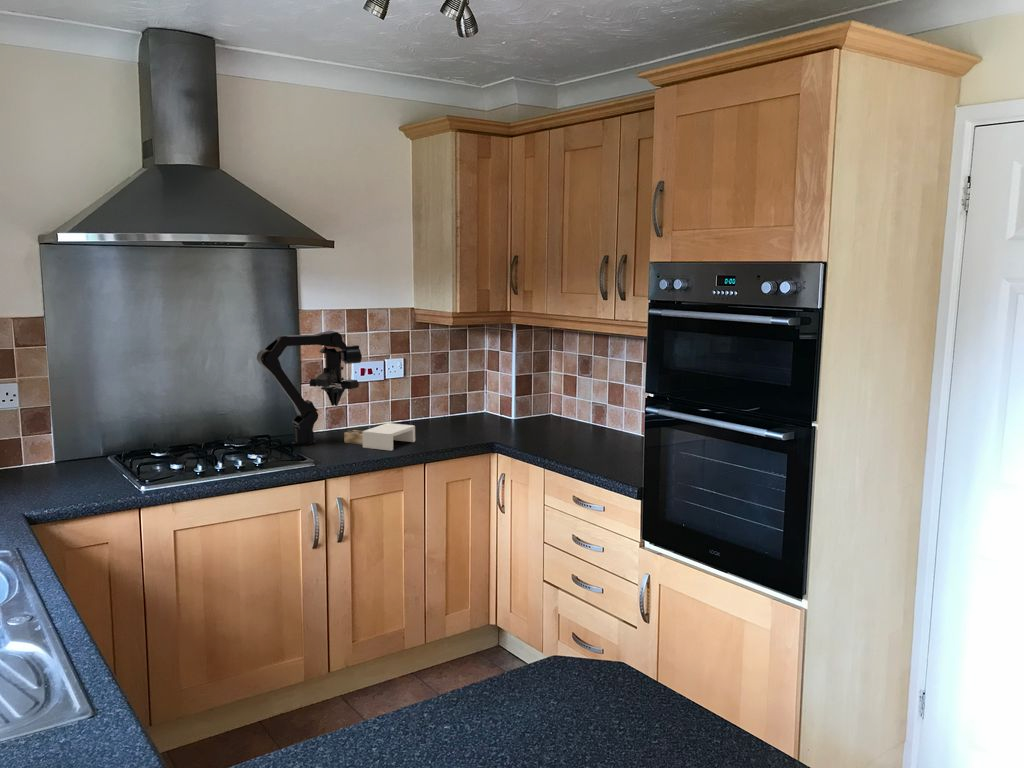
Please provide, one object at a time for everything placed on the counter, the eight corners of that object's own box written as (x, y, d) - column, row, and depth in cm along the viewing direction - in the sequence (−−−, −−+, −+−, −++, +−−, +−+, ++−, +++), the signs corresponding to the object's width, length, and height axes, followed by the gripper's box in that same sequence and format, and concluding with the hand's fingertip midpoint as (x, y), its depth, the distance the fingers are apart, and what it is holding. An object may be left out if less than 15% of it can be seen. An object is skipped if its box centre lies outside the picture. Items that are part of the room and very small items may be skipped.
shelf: (362, 447, 302) (362, 431, 302) (388, 438, 318) (387, 423, 317) (390, 450, 298) (390, 434, 297) (415, 441, 313) (415, 425, 312)
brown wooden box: (344, 443, 311) (344, 432, 310) (353, 440, 316) (353, 429, 315) (366, 445, 307) (366, 435, 306) (375, 442, 312) (375, 432, 311)
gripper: (299, 365, 308) (300, 407, 310) (341, 368, 300) (342, 411, 303) (318, 362, 318) (319, 402, 320) (359, 365, 310) (360, 406, 313)
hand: (334, 405), depth 314 cm, fingers closed
